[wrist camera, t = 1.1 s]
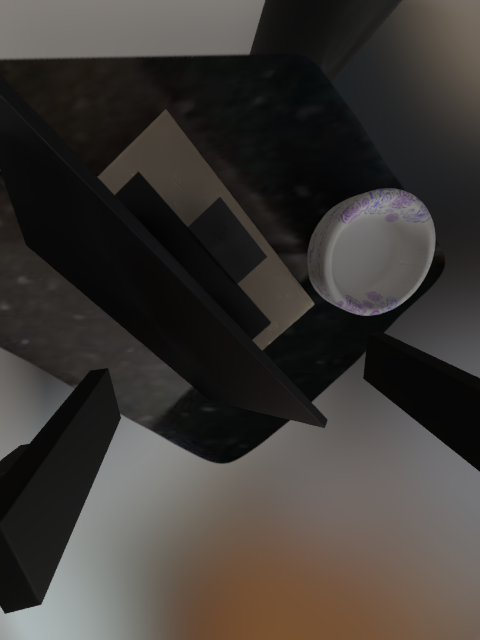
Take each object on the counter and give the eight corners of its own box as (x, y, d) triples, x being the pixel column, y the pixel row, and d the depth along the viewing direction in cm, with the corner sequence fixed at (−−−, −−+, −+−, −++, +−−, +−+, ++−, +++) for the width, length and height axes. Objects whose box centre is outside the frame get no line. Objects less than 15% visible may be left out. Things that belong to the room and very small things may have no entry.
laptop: (167, 116, 28) (165, 108, 27) (309, 301, 38) (315, 304, 37) (42, 240, 30) (32, 240, 28) (210, 388, 40) (211, 394, 38)
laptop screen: (-19, 51, 11) (-40, 55, 11) (328, 418, 21) (324, 428, 21) (33, 240, 28) (25, 244, 28) (211, 394, 38) (208, 399, 38)
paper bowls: (312, 317, 39) (339, 334, 32) (285, 221, 34) (310, 215, 27) (396, 282, 40) (442, 290, 33) (382, 183, 35) (432, 166, 28)
